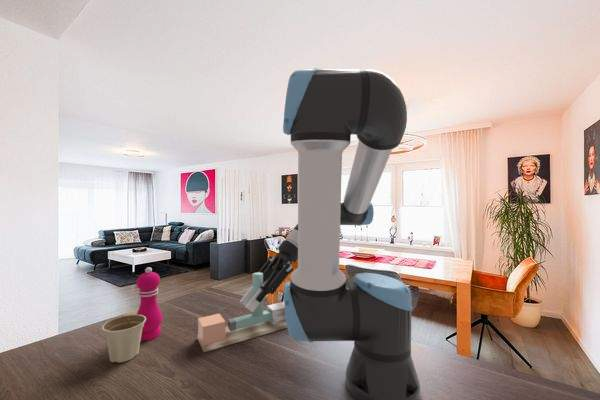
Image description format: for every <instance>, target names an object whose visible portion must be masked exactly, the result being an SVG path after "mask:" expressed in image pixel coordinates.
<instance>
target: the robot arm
mask: <svg viewBox="0 0 600 400" xmlns="http://www.w3.org/2000/svg"><path fill="white" fill-rule="evenodd" d="M287 83H288V84H287V89H286V93H285V104H284V112H283V125H282V132H283V133H284V134H285V135H287V136H290V145H291V146H292V147H293V148H294V149H295V150H296V152H297V153H298V155H297V156H298V157H297V158H298V160H297V161H298V162H297V163H298V165H297V166H298V167H297V169H298V170H297V171H298V173H297V174H298V175H297V176H298V177H297V178H298V180H297V181H298V182H297V184H298V185H297V189H298V192H297V200H298V201H297V202H298V203H297V223H296V225H295V226H294V227H293V228H292V229H291V230H290V232H289V233H288V235H287V236H286V237H285V239H284V240H283V241H282V242H281V243H280V245H279V246H278V247H277V250H278V253H277V254H276V255H275V256H272V255H270V256H268V258H267V260H266V262H264V264H263V265H262V267H261V268H260V269H259V270H258V271H257V272H260V273H263V287H262V286H261V287H260V288H261V289H259V290H258V291H257V293H256V294H255V295H254V296H253V298H252V286H251V287H250V288H249V289H248V290H247V291H246V293H245V294H244V295H242V296H243V297H242V298H241V299H240V300H239V302H240V303H241V305H242V304H243V306H244V307H245V308H246V309H247V310H249V311H250V312H251V314H252V313H253V311H254V310H255V309H256V307H257V306H258V305H259V304H260V302H261V301H262V300H263V301H264V299H265V297H267V295H269V294H271V295H274V293H276V291H277V289H278V288H279V287H280V286H281V284H283V282H284V281H285V279H286V278H287V277H288V276H289V274H290V281H286V282H285V283H284V285H283V302H284V304H285V317H286V324H287V328H286V329H287V333H288V335H289V336H290V338H291V339H292V340H293V341H298V342H300V341H301V342H309V343H313V342H353V349H352V351H351V355H350V356H349V359H348V363H347V365H346V370H345V384H346V388H347V390H348V392H349V394H350V395H351V396H352V398H353V399H355V400H420V399H421V383H420V379H419V376H418V372H417V371H416V367H415V364H414V360H413V357H412V318H413V317H412V315H413V314H412V311H413V305H412V292H411V289H410V288H409V286H407V284H405V283H404V282H403V281H401V280H399V279H396V278H394V277H391V276H387V275H383V274H380V273H373V272H361V273H356V274H355V275H354V278H353V281H347V276H346V274H345V273H344V272H343V271H342V270H341V269H340V250H341V249H340V244H341V243H340V241H341V226H367V225H371V223H372V222H373V220H374V214H375V213H374V211H375V210H374V205H373V203H372V199H373V197H374V194H375V192H376V190H377V187H378V186H379V183H380V179H381V178H382V175H383V173H384V171H385V168H386V166H387V164H388V163H387V162H388V161H389V159H390V156H391V153H392V151H393V150H394V149H396V148H398V146H400V144H401V142H402V140H403V137H404V135H405V133H406V132H405V131H406V129H407V122H408V110H407V109H408V108H407V105H406V101H405V97H404V95H403V93H402V91H401V89H400V88H399V86H398V85H397V84H396V83H397V82H395V81H394V80H393V79H392V78H391V77H390V76H389V75H387V74H385V73H384V72H381V71H379V70H375V69H336V68H333V69H332V68H316V67H314V68H311V69H298V70H295V71H293V72H292V73H291V74H290V76H289V79H288V81H287ZM352 135H356V138H357V139H358V142H357V148H356V151H355V155H354V158H353V163H352V166H351V169H350V174H349V178H348V182H347V186H346V189H345V194H344V197H343V200H342V174H343V173H342V170H343V169H342V165H343V163H342V162H343V159H342V158H343V153H344V151H345V150H346V149H347V148H348V147H349V146H350V145H351V138H352V137H351V136H352ZM296 262H297V268H296V269H294V267H293V266H292V263H296Z"/></svg>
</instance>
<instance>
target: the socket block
mask: <svg viewBox="0 0 600 400" xmlns="http://www.w3.org/2000/svg"><path fill="white" fill-rule="evenodd" d="M225 327H226V320H225V319H224V317H223V316H222V315H221V313H215V314H211V315H207V316H203V317H198V318H197V334H198V337H199V339H200V341H201V343H202V345H203V346H204V345H208V344H211V343H215V342H219V341H222V340H225Z"/></svg>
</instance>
